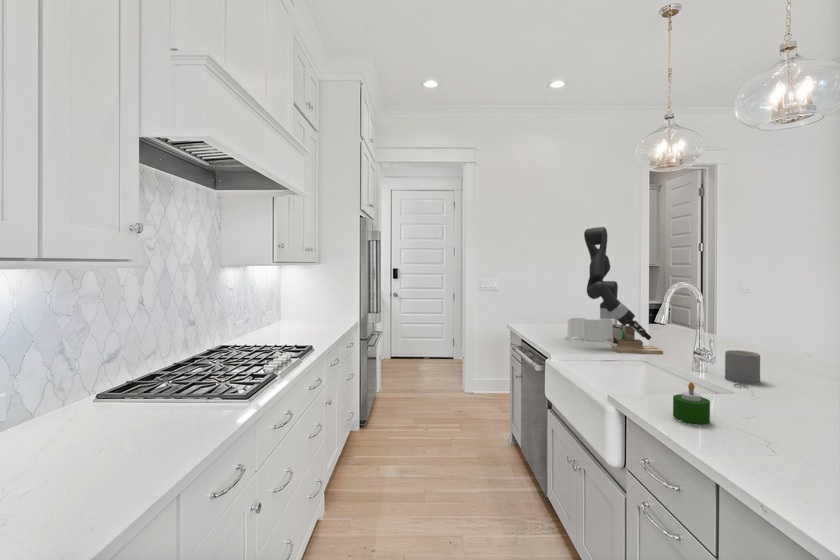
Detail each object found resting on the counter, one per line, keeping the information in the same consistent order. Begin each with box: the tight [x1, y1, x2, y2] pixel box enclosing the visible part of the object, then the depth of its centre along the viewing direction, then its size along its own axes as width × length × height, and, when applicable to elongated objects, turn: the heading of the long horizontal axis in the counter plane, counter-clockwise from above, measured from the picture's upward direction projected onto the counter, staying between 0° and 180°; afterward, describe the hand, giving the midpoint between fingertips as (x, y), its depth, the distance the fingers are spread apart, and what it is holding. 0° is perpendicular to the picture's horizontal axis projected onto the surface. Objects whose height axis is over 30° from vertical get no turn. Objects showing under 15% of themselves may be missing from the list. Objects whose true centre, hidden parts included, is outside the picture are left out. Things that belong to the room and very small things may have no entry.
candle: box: [672, 381, 711, 426], centre depth 111 cm, size 8×8×10 cm
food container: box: [612, 323, 629, 345], centre depth 223 cm, size 12×6×10 cm, turn 179°
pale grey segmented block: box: [567, 317, 615, 343], centre depth 238 cm, size 25×10×12 cm, turn 71°
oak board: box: [610, 343, 664, 355], centre depth 205 cm, size 14×20×2 cm
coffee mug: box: [724, 349, 761, 385], centre depth 151 cm, size 13×10×10 cm
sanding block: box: [617, 327, 644, 349], centre depth 205 cm, size 6×10×10 cm, turn 76°
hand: (647, 337), depth 203 cm, fingers open, 8 cm apart
